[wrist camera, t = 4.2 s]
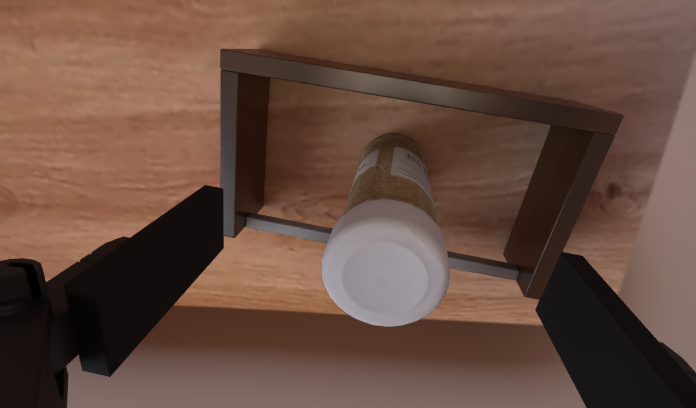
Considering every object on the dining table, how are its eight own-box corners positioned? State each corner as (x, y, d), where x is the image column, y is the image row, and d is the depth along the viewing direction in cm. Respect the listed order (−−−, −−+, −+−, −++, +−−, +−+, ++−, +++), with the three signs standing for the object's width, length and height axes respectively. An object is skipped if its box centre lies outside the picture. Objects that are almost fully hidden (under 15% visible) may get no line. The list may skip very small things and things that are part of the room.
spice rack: (577, 101, 22) (624, 115, 17) (516, 256, 26) (541, 300, 22) (256, 49, 23) (220, 48, 18) (250, 205, 27) (219, 235, 23)
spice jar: (350, 145, 25) (298, 240, 12) (416, 123, 23) (430, 203, 11) (372, 204, 26) (345, 341, 14) (435, 186, 25) (466, 318, 13)
